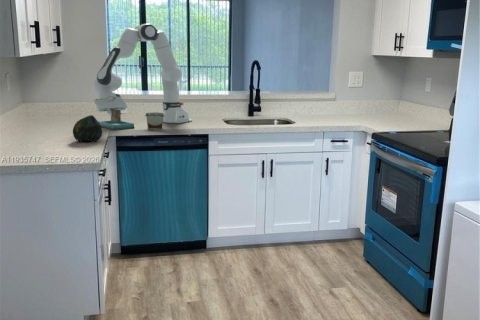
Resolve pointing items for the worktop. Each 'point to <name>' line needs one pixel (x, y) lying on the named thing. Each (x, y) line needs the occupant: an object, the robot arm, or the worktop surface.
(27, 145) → the worktop surface
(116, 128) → the tray
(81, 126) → the squash
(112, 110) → the walnut block
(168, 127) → the worktop surface
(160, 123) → the food container
